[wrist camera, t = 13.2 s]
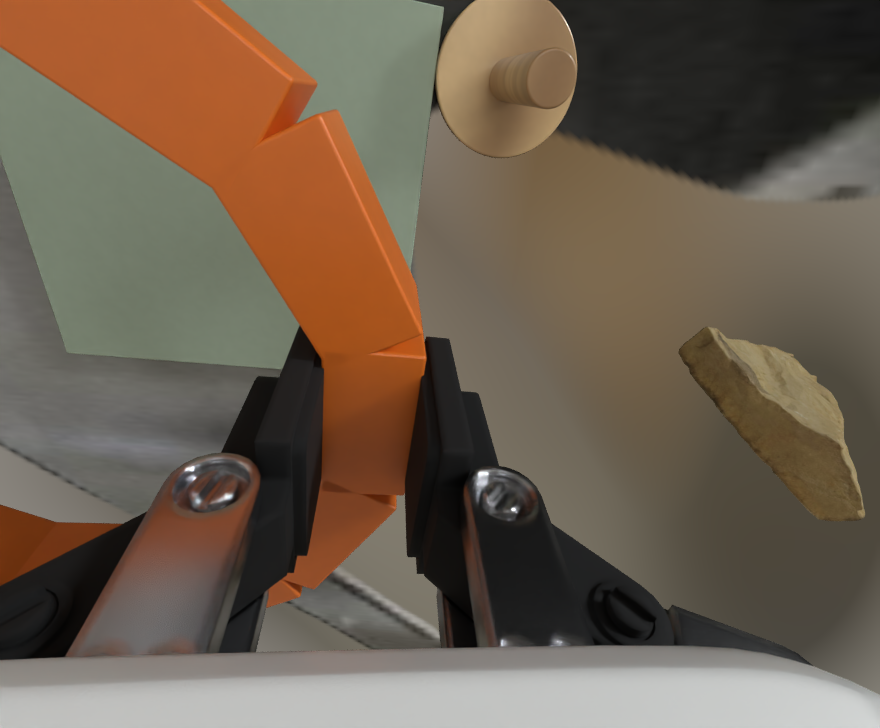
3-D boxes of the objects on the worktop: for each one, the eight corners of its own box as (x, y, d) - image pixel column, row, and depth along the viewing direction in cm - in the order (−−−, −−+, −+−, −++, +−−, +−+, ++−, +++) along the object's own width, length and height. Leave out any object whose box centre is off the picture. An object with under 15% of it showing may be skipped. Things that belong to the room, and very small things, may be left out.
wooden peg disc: (425, 144, 20) (440, 169, 14) (447, -24, 17) (476, -80, 11) (547, 164, 21) (607, 195, 15) (588, 8, 18) (682, -26, 12)
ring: (-170, 560, 13) (-273, 647, 11) (-1016, -384, 5) (-2098, -753, 3) (383, 565, 16) (382, 635, 14) (469, -36, 7) (499, -86, 5)
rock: (645, 378, 26) (693, 487, 30) (829, 395, 19) (862, 536, 23) (721, 275, 30) (756, 383, 34) (897, 257, 23) (915, 397, 27)
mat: (71, 349, 24) (66, 353, 24) (-81, -107, 15) (-92, -111, 14) (396, 374, 27) (396, 378, 27) (442, 8, 18) (444, 7, 17)
